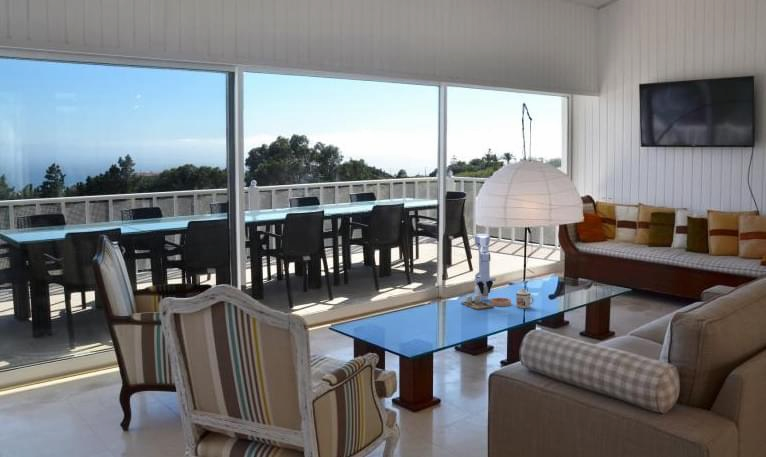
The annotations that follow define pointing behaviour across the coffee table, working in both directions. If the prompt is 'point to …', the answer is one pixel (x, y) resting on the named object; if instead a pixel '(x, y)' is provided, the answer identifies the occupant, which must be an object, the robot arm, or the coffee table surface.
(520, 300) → the teacup with lid
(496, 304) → the bowl
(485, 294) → the grey rounded cylinder
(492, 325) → the coffee table surface
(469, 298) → the light stone
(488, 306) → the tray
